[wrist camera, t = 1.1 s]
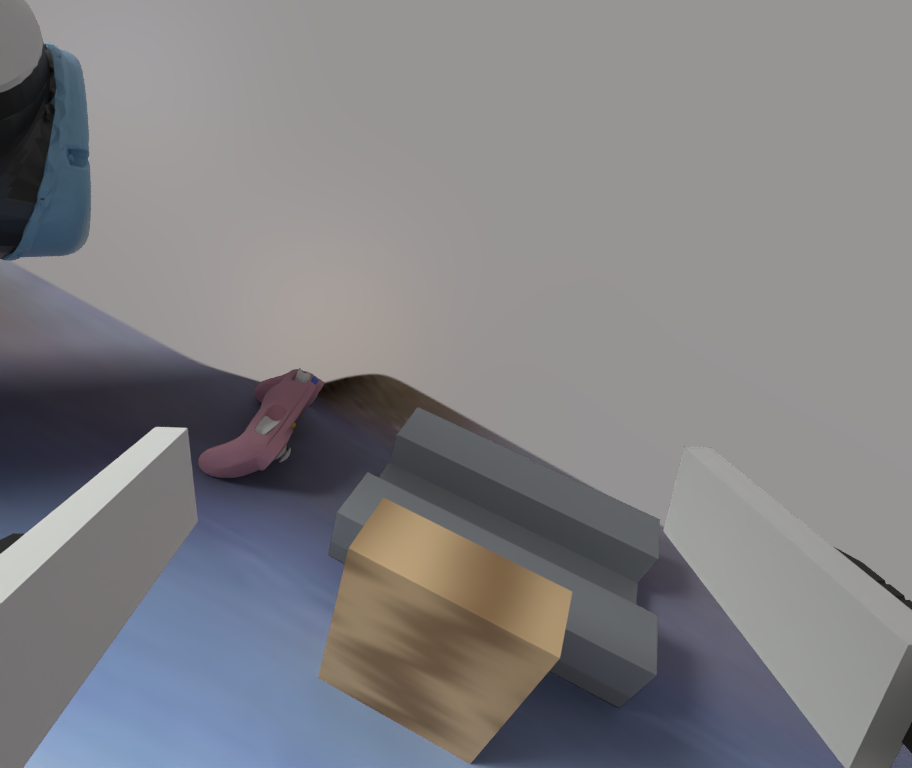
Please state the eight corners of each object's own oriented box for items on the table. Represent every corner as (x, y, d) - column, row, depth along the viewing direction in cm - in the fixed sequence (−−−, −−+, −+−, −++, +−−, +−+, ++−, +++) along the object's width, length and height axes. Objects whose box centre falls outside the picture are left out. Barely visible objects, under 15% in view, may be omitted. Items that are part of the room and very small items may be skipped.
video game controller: (244, 506, 35) (294, 458, 32) (187, 470, 34) (231, 417, 30) (299, 420, 43) (343, 374, 40) (254, 388, 42) (296, 338, 38)
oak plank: (318, 677, 27) (348, 548, 20) (347, 628, 29) (383, 497, 22) (470, 764, 25) (559, 658, 18) (487, 704, 28) (572, 591, 21)
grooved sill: (328, 555, 32) (336, 512, 30) (406, 446, 42) (417, 407, 39) (619, 707, 30) (656, 675, 27) (631, 554, 39) (659, 519, 37)
